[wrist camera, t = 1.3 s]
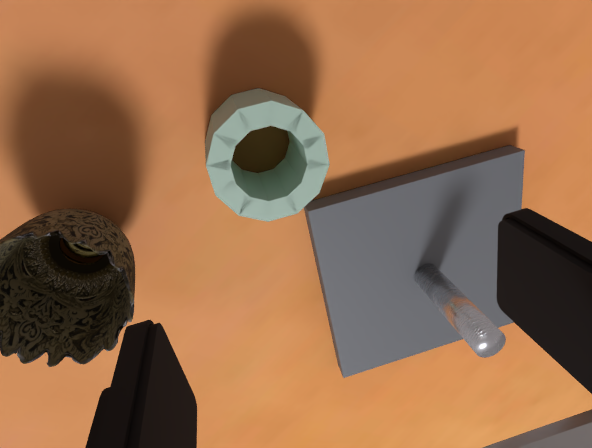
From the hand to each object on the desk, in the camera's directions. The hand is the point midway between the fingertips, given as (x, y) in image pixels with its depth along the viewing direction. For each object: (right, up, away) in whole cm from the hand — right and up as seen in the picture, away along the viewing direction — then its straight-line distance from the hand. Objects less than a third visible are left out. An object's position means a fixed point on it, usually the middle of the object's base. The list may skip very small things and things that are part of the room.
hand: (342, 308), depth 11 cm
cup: (-15, +2, +16) cm, 22 cm away
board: (+9, -1, +22) cm, 24 cm away
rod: (+9, -2, +21) cm, 23 cm away
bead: (-4, +8, +15) cm, 17 cm away
